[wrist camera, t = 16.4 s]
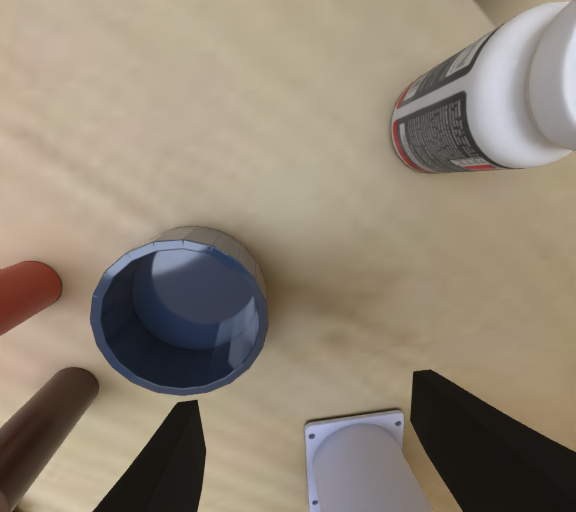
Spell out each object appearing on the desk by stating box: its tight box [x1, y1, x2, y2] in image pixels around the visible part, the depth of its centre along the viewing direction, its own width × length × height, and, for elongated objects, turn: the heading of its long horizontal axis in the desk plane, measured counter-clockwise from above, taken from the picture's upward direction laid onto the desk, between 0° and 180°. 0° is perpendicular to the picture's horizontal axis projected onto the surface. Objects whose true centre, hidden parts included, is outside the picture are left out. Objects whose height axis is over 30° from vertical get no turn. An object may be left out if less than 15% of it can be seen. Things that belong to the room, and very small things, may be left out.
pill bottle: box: [391, 0, 576, 174], centre depth 13 cm, size 6×6×10 cm
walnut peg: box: [0, 368, 99, 512], centre depth 16 cm, size 3×3×8 cm
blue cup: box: [90, 227, 269, 396], centre depth 17 cm, size 9×9×4 cm
